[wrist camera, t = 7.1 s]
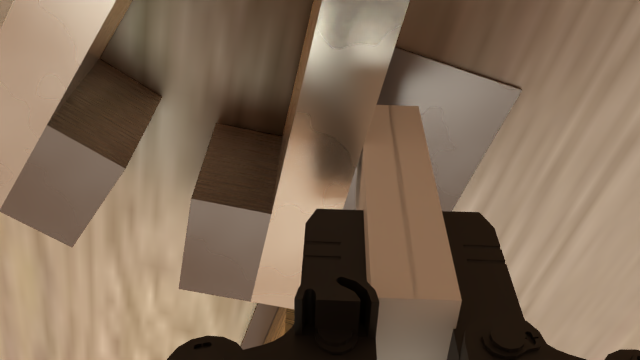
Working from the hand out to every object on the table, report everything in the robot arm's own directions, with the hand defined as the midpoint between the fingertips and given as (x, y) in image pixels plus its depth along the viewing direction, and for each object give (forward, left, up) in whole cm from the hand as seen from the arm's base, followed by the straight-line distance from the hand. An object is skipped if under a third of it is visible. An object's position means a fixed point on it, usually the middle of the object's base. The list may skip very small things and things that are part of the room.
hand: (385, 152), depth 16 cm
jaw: (-5, +2, -2) cm, 6 cm away
